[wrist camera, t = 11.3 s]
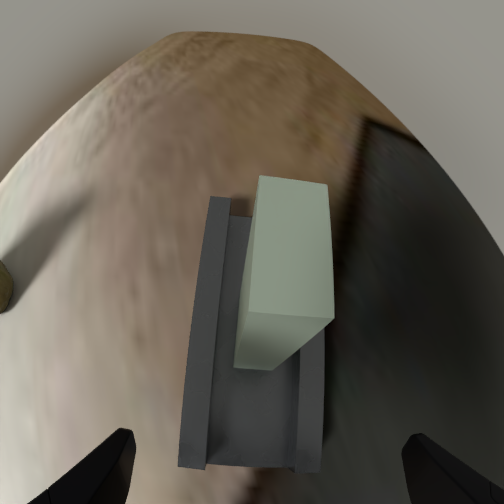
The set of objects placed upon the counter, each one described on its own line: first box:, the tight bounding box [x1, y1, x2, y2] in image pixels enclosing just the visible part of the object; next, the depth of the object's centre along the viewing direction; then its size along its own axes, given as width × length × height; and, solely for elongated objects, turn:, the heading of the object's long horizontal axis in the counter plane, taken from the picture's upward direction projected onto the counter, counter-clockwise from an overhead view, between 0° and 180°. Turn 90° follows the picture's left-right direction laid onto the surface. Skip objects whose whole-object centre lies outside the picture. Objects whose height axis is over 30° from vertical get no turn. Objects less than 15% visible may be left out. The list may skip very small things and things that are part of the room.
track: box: [178, 196, 325, 473], centre depth 20 cm, size 18×8×3 cm, turn 177°
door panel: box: [233, 175, 334, 371], centre depth 15 cm, size 5×2×12 cm, turn 176°
